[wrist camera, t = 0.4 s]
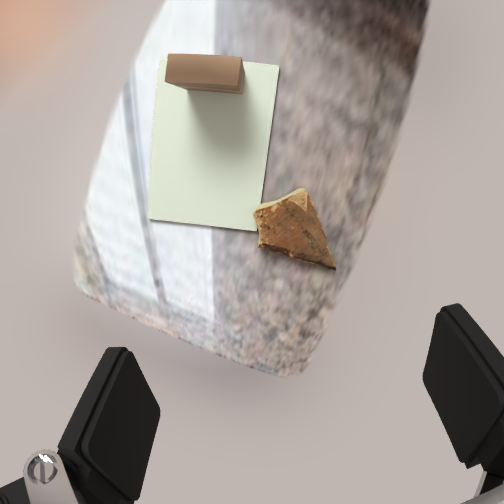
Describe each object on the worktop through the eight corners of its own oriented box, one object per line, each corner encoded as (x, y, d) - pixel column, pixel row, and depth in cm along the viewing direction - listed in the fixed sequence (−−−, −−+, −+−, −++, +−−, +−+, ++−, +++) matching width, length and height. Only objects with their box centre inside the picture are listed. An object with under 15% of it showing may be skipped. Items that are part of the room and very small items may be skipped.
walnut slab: (189, 68, 30) (168, 53, 22) (245, 72, 31) (241, 57, 22) (186, 90, 31) (164, 81, 23) (242, 94, 32) (237, 85, 23)
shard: (332, 265, 40) (337, 271, 38) (276, 289, 40) (279, 296, 39) (305, 185, 36) (309, 188, 34) (242, 211, 37) (243, 215, 35)
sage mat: (161, 58, 30) (160, 57, 30) (279, 66, 31) (279, 65, 30) (149, 217, 38) (147, 218, 37) (256, 229, 38) (256, 231, 38)
